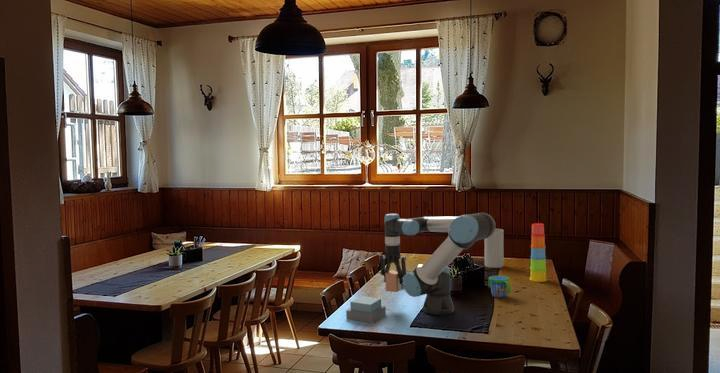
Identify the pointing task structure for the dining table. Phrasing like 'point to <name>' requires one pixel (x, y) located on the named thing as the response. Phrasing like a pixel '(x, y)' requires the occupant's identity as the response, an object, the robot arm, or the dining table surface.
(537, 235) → the stacking cups
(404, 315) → the dining table surface
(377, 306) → the grey stepped block
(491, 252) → the cylinder vase
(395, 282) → the terracotta brick
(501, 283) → the snack cup
